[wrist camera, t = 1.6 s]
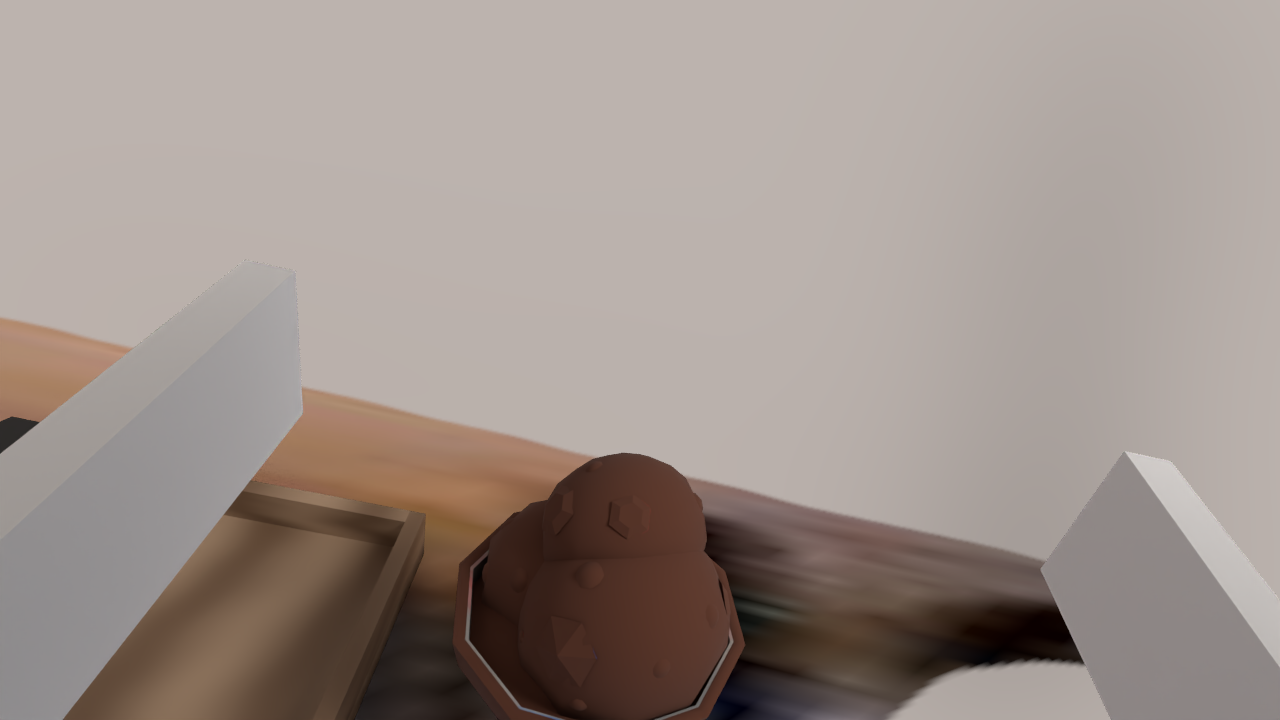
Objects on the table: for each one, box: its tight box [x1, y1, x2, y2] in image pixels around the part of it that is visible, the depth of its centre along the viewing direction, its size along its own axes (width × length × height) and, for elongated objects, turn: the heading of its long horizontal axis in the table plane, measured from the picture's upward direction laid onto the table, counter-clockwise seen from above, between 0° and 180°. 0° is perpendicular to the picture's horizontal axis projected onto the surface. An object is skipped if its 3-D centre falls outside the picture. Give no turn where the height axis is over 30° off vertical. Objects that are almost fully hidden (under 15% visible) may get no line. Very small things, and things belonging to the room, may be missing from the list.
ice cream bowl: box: [452, 453, 745, 720], centre depth 30 cm, size 11×11×15 cm
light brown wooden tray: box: [63, 480, 426, 720], centre depth 32 cm, size 18×18×3 cm
